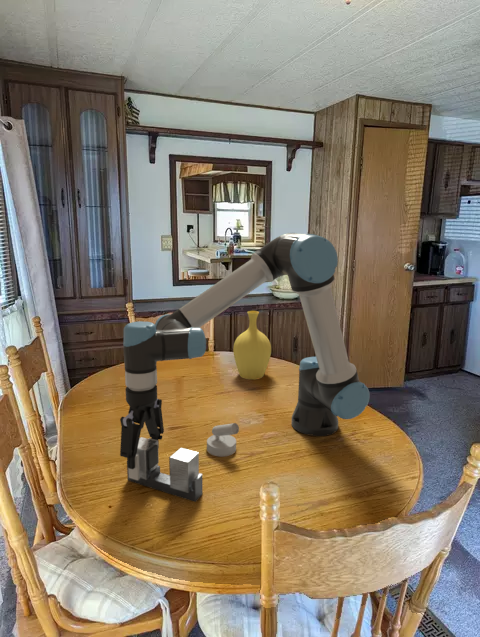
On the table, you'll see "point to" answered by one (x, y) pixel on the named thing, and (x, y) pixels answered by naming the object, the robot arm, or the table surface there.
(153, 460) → the light grey block
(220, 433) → the wall hook
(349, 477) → the table surface
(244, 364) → the vase
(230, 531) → the table surface
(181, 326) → the robot arm
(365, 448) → the table surface
